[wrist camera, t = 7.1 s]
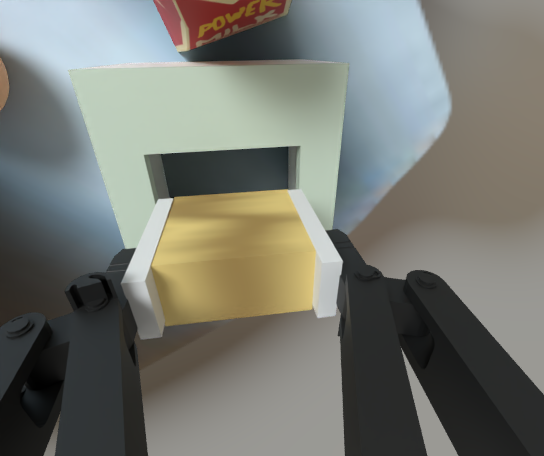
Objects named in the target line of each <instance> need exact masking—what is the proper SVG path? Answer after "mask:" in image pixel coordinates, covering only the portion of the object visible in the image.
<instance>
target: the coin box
mask: <svg viewBox="0 0 544 456" xmlns="http://www.w3.org/2000/svg"><path fill="white" fill-rule="evenodd" d="M348 70H349V63H341V62H329V61H316V60H304V59H290V60H244V61H199V62H154V63H125V64H116V65H107V66H99V67H90V68H81V69H72V70H68V72H69V75H70V78H71V81H72V84H73V87H74V90H75V93H76V96H77V100H78V103H79V106H80V109H81V112H82V115H83V118H84V121H85V124H86V127H87V130H88V134H89V137H90V140H91V143H92V146H93V149H94V152H95V155H96V158H97V161H98V165H99V168H100V171H101V174H102V177H103V180H104V183H105V186H106V189H107V192H108V195H109V199H110V202H111V205H112V208H113V211H114V214H115V217H116V220H117V223H118V226H119V229H120V233H121V236H122V239H123V242H124V245H125V248H126V249H129V248H137V246H138V244H139V241H140V239H141V237H142V234H143V232H144V230H145V228H146V225H147V223H148V221H149V219H150V216H151V214H152V212H153V210H154V207H155V205H156V203H157V201H158V199H169V198H170V196H169V191H168V187H167V182H166V177H165V172H164V168H163V163H162V158H161V154H165V153H182V152H199V151H217V150H234V149H251V148H269V147H286V146H289V150H288V190H296V189H301V190H302V191H303V193H304V195H305V196H306V198H307V200H308V202H309V203H310V205H311V207H312V209H313V210H314V212H315V214H316V215H317V217H318V219H319V221H320V222H321V224H322V226H323V228H324V229H325V230H332V227H333V218H334V208H335V198H336V188H337V178H338V168H339V158H340V149H341V139H342V129H343V119H344V109H345V99H346V90H347V80H348Z"/></svg>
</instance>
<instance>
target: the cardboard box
mask: <svg viewBox="0 0 544 456" xmlns="http://www.w3.org/2000/svg"><path fill="white" fill-rule="evenodd" d="M315 257H316V250H315V248H314V246H313V244H312V241H311V239H310V237H309V235H308V233H307V231H306V229H305V227H304V225H303V223H302V221H301V219H300V216H299V214H298V212H297V210H296V208H295V206H294V204H293V202H292V200H291V198H290V196H289V193H288V190H287V189H284V190H269V191H255V192H240V193H226V194H211V195H197V196H182V197H174V200H173V203H172V206H171V209H170V211H169V214H168V217H167V220H166V223H165V226H164V229H163V232H162V235H161V237H160V240H159V243H158V246H157V249H156V252H155V255H154V258H153V261H152V263H151V269H152V273H153V277H154V280H155V284H156V288H157V291H158V295H159V299H160V302H161V306H162V310H163V313H164V317H165V325H166V326H173V325H181V324H190V323H199V322H208V321H216V320H225V319H234V318H242V317H251V316H260V315H269V314H277V313H287V312H296V311H304V310H312V300H313V286H314V272H315Z"/></svg>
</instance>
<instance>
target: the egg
mask: <svg viewBox="0 0 544 456" xmlns="http://www.w3.org/2000/svg"><path fill="white" fill-rule="evenodd" d="M8 95H9V80H8V74H7V71H6V68H5V65H4V63H3V62H2V60H1V58H0V111H1V110H2V108H3V107H4V106H5V103H6V101H7V98H8Z"/></svg>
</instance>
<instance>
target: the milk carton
mask: <svg viewBox="0 0 544 456" xmlns="http://www.w3.org/2000/svg"><path fill="white" fill-rule="evenodd" d="M153 1H154V3H155V5H156V7H157V9H158V11H159V13H160V16H161V18H162V20H163V22H164V24H165V26H166V28H167V30H168V32H169V34H170V36H171V39H172V41H173V43H174V45H175V47H176V49H177V51H178V52H183V51H189V50H191V49H194V48H197V47H200V46H203V45H206V44H209V43H211V42H214V41H217V40H220V39H223V38H226V37H229V36H231V35H234V34H237V33H240V32H242V31H245V30H248V29H250V28H253V27H256V26H258V25H261V24H264V23H267V22H269V21H272V20H275V19H277V18H280V17H283V16H285V15H288V11H289V8H290V4H291V1H292V0H153Z"/></svg>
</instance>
